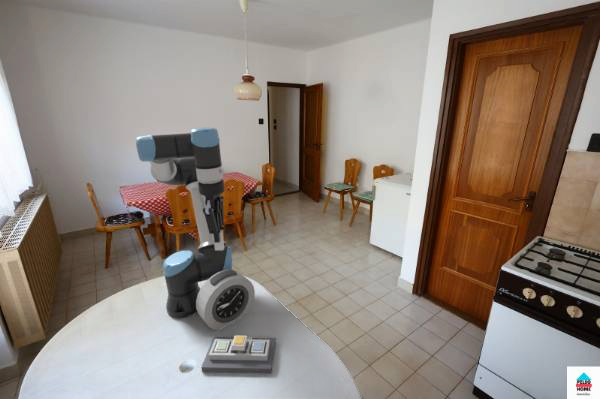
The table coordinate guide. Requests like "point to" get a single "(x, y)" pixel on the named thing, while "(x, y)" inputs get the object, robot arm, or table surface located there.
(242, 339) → the key ochre
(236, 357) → the keypad
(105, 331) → the table surface
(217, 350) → the key sage
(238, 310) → the alarm clock
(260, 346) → the key blue
